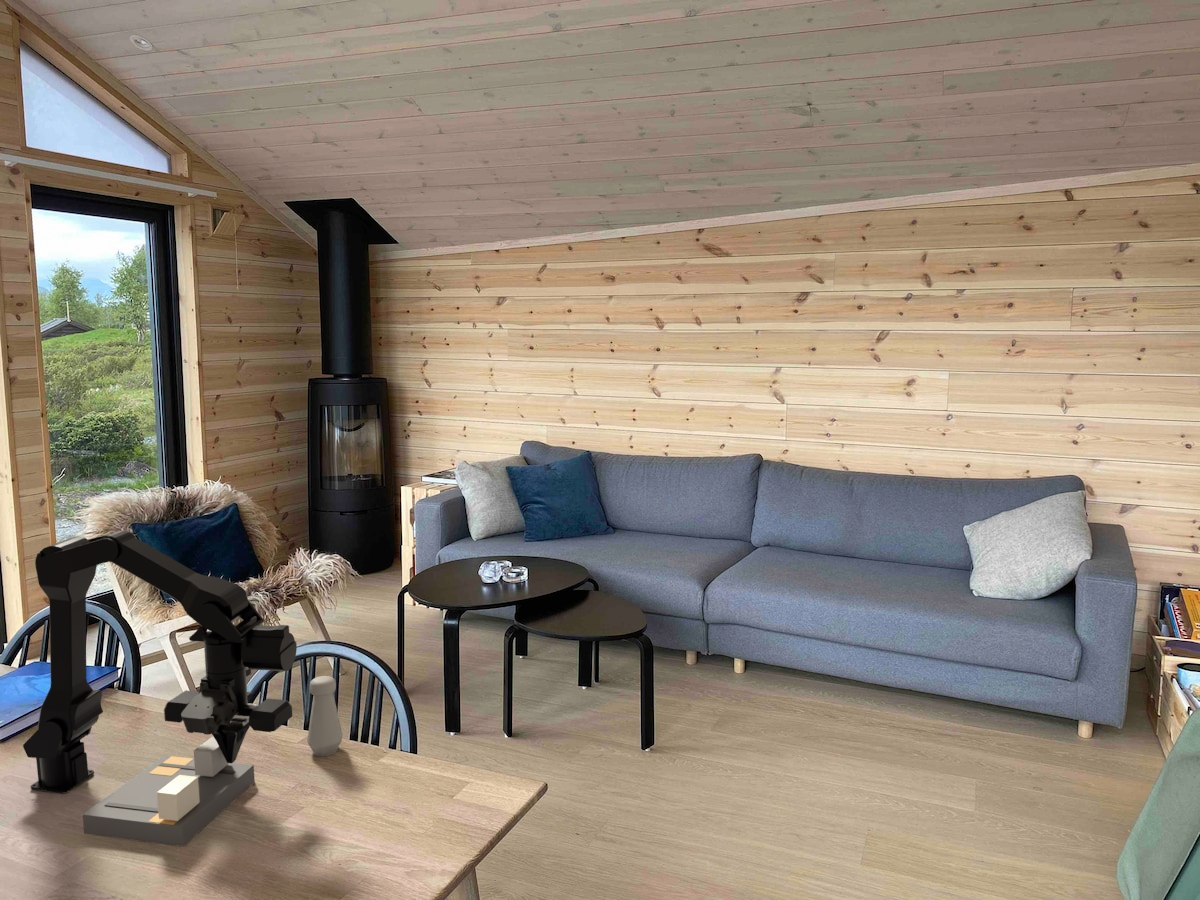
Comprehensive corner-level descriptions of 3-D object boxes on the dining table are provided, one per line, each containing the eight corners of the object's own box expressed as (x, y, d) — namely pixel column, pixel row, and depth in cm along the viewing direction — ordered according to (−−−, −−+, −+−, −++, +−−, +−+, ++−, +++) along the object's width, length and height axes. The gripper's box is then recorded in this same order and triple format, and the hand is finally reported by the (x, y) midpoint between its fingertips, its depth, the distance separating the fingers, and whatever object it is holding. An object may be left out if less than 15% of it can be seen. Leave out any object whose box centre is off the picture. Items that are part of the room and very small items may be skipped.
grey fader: (195, 774, 142) (193, 750, 142) (214, 759, 147) (213, 735, 146) (212, 776, 142) (211, 752, 141) (231, 761, 147) (230, 737, 146)
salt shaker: (332, 760, 154) (329, 687, 152) (301, 757, 155) (297, 684, 153) (349, 744, 160) (346, 673, 158) (318, 741, 161) (315, 670, 159)
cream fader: (158, 818, 130) (156, 792, 130) (181, 800, 135) (179, 774, 134) (177, 820, 130) (175, 794, 129) (199, 802, 134) (197, 776, 134)
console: (84, 833, 133) (82, 813, 132) (165, 772, 150) (164, 754, 149) (183, 846, 129) (181, 825, 129) (254, 782, 147) (253, 763, 146)
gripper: (136, 682, 135) (143, 781, 138) (251, 693, 132) (256, 795, 134) (184, 654, 146) (190, 747, 148) (291, 664, 142) (296, 758, 145)
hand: (231, 762), depth 144 cm, fingers closed
